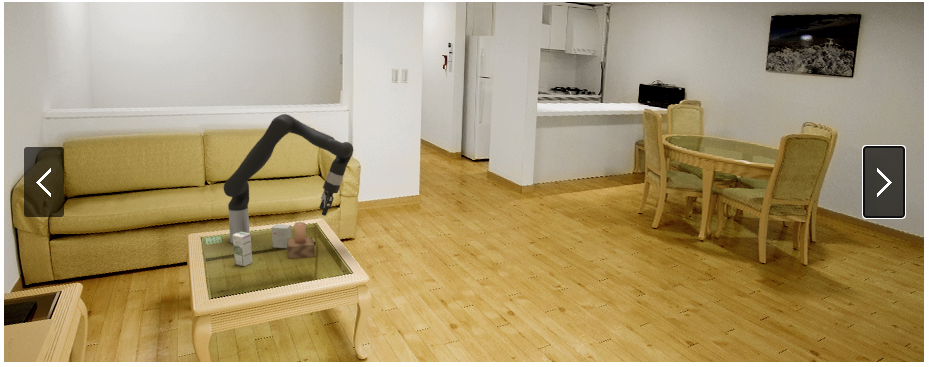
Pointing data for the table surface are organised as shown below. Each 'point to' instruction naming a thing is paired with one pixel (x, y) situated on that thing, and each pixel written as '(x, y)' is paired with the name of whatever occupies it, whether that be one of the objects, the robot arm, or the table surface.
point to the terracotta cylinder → (300, 232)
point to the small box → (281, 235)
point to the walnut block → (300, 248)
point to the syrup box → (242, 248)
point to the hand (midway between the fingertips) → (322, 212)
